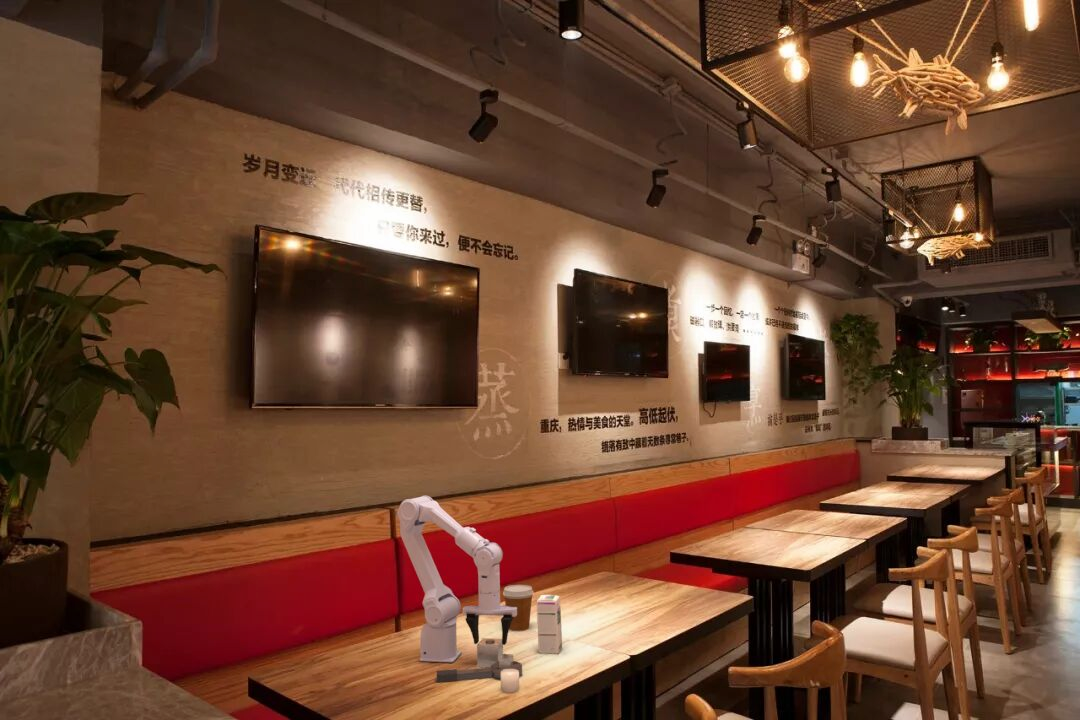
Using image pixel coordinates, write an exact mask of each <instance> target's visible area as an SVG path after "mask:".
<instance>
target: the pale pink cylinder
mask: <svg viewBox="0 0 1080 720" xmlns="http://www.w3.org/2000/svg"><path fill="white" fill-rule="evenodd" d="M519 690H520V677H519V671H518V670H516V669H505V670H502V671H501V680H500V691H501V692H503V693H506V694H508V693H509V694H512V693H517V692H519Z"/></svg>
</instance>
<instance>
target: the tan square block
mask: <svg viewBox="0 0 1080 720" xmlns="http://www.w3.org/2000/svg"><path fill="white" fill-rule="evenodd" d="M476 652H477V653H476V657H477V661H476V662H477V665H476V666H477V668H489V667H491V665H492V664H494V663H496V662H499V657H500V656H501V654H504V645H502V638H492V637H491V638H488V637H487V638H486V637H483V638H481V639H480V640H479V642H478V643H477V644H476Z"/></svg>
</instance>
